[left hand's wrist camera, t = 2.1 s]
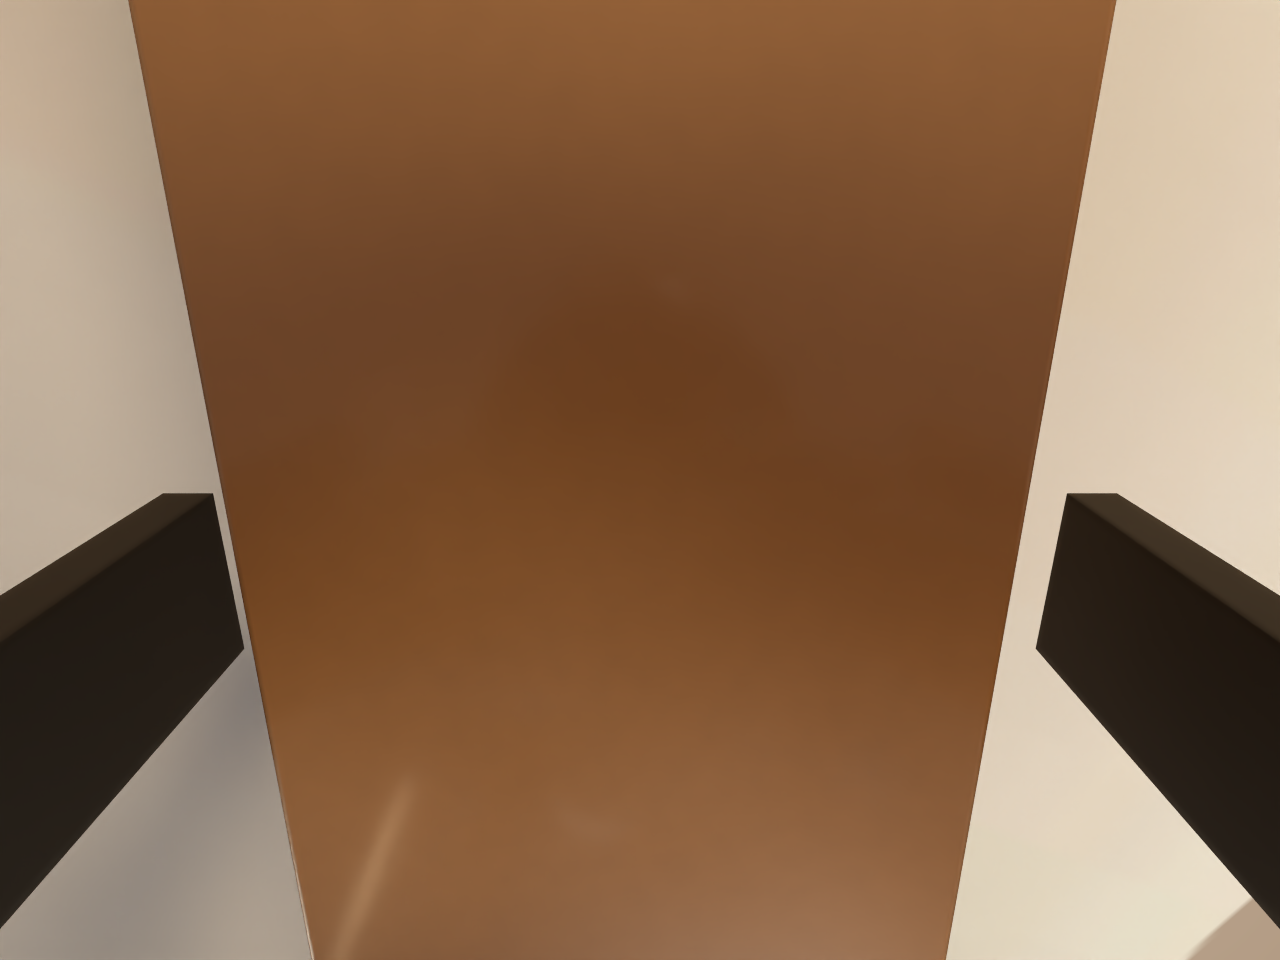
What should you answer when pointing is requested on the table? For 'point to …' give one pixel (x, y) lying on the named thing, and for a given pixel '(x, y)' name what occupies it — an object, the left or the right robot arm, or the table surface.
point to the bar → (625, 445)
